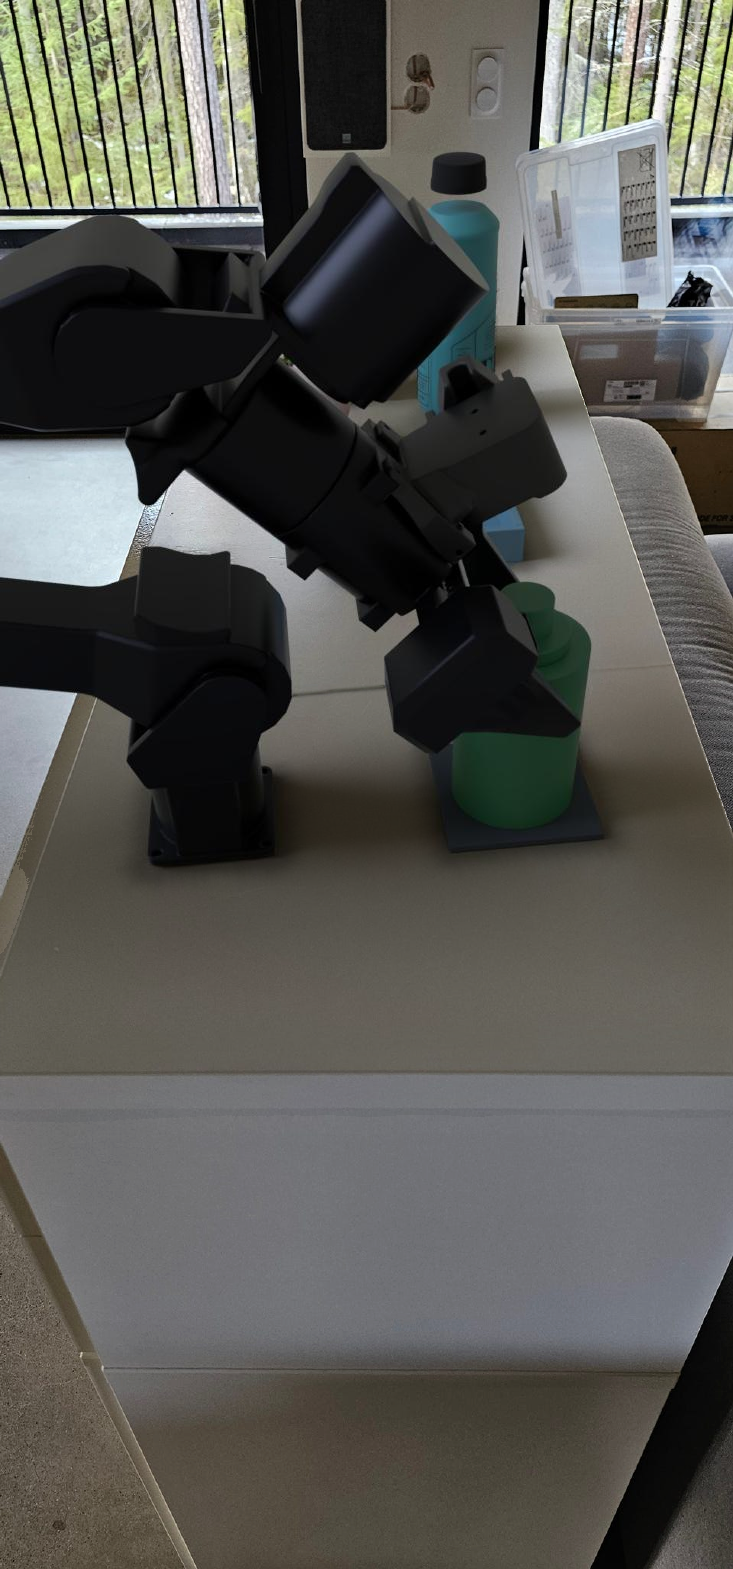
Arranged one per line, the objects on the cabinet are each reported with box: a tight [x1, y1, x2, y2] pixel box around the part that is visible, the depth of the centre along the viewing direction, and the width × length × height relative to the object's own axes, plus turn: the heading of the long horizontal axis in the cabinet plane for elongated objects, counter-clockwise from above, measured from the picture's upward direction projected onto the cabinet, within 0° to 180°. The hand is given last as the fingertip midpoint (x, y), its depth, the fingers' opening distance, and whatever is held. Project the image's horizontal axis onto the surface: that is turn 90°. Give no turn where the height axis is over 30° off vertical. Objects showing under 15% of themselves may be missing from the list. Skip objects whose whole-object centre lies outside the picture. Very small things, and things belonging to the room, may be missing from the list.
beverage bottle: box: [415, 151, 501, 415], centre depth 86 cm, size 6×7×20 cm
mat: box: [428, 743, 606, 853], centre depth 59 cm, size 8×8×1 cm
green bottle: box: [452, 581, 592, 829], centre depth 55 cm, size 6×6×12 cm
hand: (551, 669), depth 54 cm, fingers open, 9 cm apart
